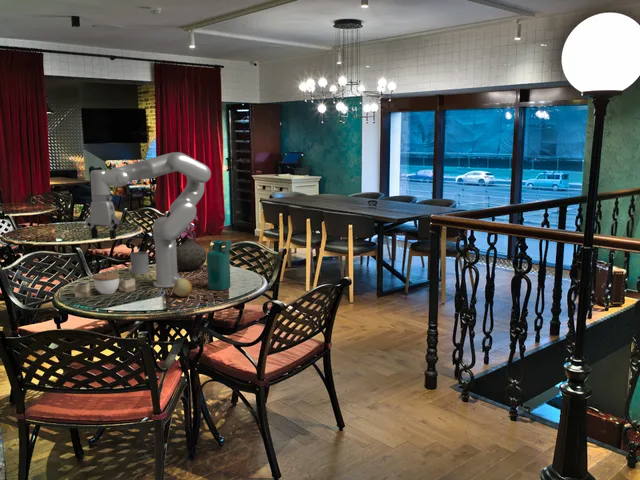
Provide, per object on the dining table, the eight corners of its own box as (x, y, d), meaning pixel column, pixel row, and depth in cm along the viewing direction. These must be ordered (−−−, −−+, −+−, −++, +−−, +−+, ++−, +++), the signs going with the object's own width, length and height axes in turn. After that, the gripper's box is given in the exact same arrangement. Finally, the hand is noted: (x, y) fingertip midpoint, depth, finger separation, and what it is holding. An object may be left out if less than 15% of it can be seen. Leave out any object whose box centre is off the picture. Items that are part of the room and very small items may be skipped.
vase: (175, 274, 293) (173, 215, 288) (171, 267, 309) (169, 211, 305) (209, 271, 299) (207, 213, 294) (203, 265, 315) (201, 210, 310)
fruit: (175, 294, 253) (175, 276, 252) (194, 294, 253) (194, 276, 252) (171, 299, 246) (170, 280, 244) (190, 299, 246) (189, 280, 244)
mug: (146, 274, 294) (145, 254, 292) (129, 274, 294) (128, 254, 292) (152, 269, 306) (151, 250, 304) (136, 269, 306) (135, 250, 304)
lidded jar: (96, 296, 250) (94, 275, 249) (93, 291, 259) (91, 270, 258) (122, 293, 255) (120, 272, 253) (118, 288, 264) (117, 268, 263)
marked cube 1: (91, 294, 255) (90, 282, 254) (86, 297, 250) (86, 285, 249) (80, 294, 255) (79, 282, 254) (75, 297, 250) (74, 285, 249)
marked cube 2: (135, 290, 262) (134, 278, 261) (126, 292, 258) (125, 280, 257) (128, 288, 265) (127, 277, 264) (119, 290, 261) (118, 279, 260)
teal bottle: (206, 289, 262) (204, 241, 258) (215, 285, 270) (214, 238, 266) (225, 291, 258) (224, 242, 255) (234, 287, 266) (233, 239, 263)
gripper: (124, 198, 252) (126, 238, 255) (89, 197, 257) (92, 236, 259) (113, 200, 245) (115, 240, 248) (78, 199, 250) (81, 239, 252)
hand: (103, 238), depth 253 cm, fingers open, 8 cm apart
